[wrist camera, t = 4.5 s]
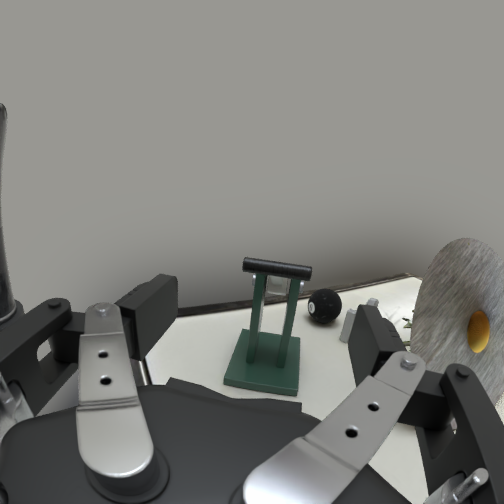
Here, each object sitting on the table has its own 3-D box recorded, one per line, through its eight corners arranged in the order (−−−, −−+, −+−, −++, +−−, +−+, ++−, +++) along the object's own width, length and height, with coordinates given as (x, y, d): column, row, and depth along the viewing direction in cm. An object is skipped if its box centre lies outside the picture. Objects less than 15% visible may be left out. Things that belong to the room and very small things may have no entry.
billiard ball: (343, 325, 48) (351, 295, 47) (316, 331, 46) (323, 299, 44) (325, 310, 54) (331, 282, 52) (299, 314, 51) (305, 285, 50)
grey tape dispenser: (339, 340, 44) (368, 322, 50) (345, 343, 43) (374, 324, 49) (347, 309, 42) (376, 295, 48) (354, 313, 41) (382, 297, 47)
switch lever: (309, 288, 22) (313, 258, 22) (240, 277, 22) (245, 248, 23) (298, 297, 34) (301, 278, 35) (254, 290, 35) (257, 271, 36)
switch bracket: (296, 396, 31) (321, 295, 27) (223, 384, 32) (230, 282, 28) (298, 343, 42) (315, 259, 38) (241, 334, 43) (250, 250, 39)
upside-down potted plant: (473, 397, 35) (456, 276, 45) (541, 390, 19) (514, 235, 29) (360, 437, 34) (347, 287, 44) (421, 462, 18) (396, 237, 28)
